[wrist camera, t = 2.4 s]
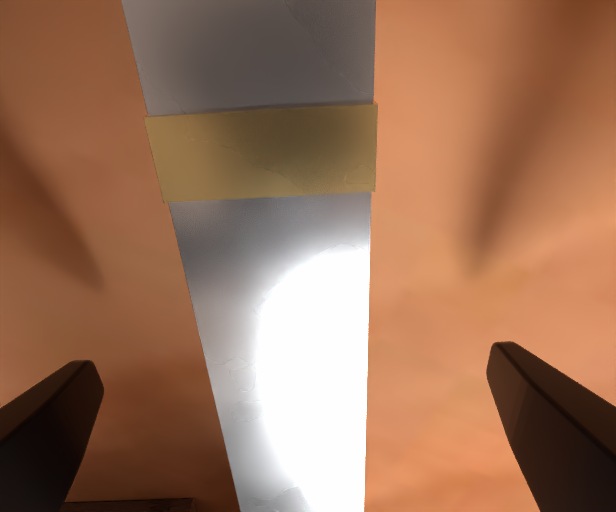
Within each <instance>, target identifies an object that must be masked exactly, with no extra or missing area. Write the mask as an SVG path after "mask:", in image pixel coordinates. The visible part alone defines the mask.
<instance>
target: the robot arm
mask: <svg viewBox="0 0 616 512" xmlns="http://www.w3.org/2000/svg"><path fill="white" fill-rule="evenodd" d="M486 374H487V380H488V383H489V386H490V389H491V392H492V395H493V398H494V401H495V404H496V406H497V409H498V412H499V415H500V418H501V421H502V424H503V427H504V430H505V433H506V436H507V438H508V441H509V444H510V446H511V449H512V451H513V453H514V456H515V458H516V460H517V462H518V464H519V466H520V469H521V471H522V473H523V475H524V477H525V479H526V482H527V484H528V486H529V488H530V490H531V492H532V494H533V497H534V499H535V501H536V503H537V505H538V507H539V510H540V512H616V407H615V406H614V405H612V404H610V403H609V402H607V401H606V400H604V399H603V398H601V397H599V396H598V395H596V394H595V393H593V392H592V391H590V390H589V389H587V388H585V387H584V386H582V385H581V384H579V383H578V382H576V381H574V380H573V379H571V378H570V377H568V376H567V375H565V374H563V373H562V372H560V371H559V370H557V369H556V368H554V367H552V366H551V365H549V364H548V363H546V362H545V361H543V360H541V359H540V358H538V357H537V356H535V355H534V354H532V353H530V352H529V351H527V350H526V349H524V348H523V347H521V346H520V345H518V344H516V343H514V342H511V341H508V342H495V343H494V344H493V345H492V347H491V351H490V356H489V360H488V365H487V370H486ZM103 394H104V387H103V384H102V381H101V379H100V376H99V374H98V371H97V369H96V366H95V364H94V363H93V362H92V361H91V360H75V361H71V362H70V363H68V364H66V365H65V366H63V367H62V368H60V369H59V370H57V371H56V372H54V373H53V374H51V375H50V376H48V377H47V378H45V379H44V380H42V381H41V382H39V383H38V384H36V385H35V386H33V387H32V388H30V389H29V390H27V391H26V392H24V393H23V394H21V395H20V396H18V397H17V398H15V399H14V400H12V401H11V402H9V403H8V404H6V405H5V406H3V407H2V408H0V512H60V510H61V508H62V505H63V503H64V501H65V499H66V496H67V494H68V492H69V490H70V487H71V485H72V483H73V481H74V478H75V476H76V474H77V471H78V469H79V466H80V464H81V462H82V459H83V456H84V453H85V451H86V447H87V444H88V441H89V438H90V435H91V432H92V429H93V426H94V423H95V420H96V417H97V414H98V411H99V408H100V405H101V401H102V398H103Z"/></svg>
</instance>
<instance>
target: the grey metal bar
mask: <svg viewBox="0 0 616 512" xmlns="http://www.w3.org/2000/svg"><path fill="white" fill-rule="evenodd" d="M121 2H122V6H123V10H124V14H125V19H126V23H127V27H128V32H129V36H130V40H131V44H132V49H133V53H134V57H135V62H136V66H137V70H138V74H139V79H140V83H141V87H142V91H143V96H144V100H145V104H146V109H147V113H148V115H147V116H145V117H143V118H144V122H145V127H146V131H147V135H148V139H149V143H150V147H151V152H152V156H153V160H154V164H155V168H156V172H157V177H158V181H159V185H160V189H161V193H162V197H163V202H164V203H167V202H168V203H169V207H170V211H171V216H172V220H173V224H174V228H175V233H176V237H177V241H178V246H179V250H180V254H181V258H182V263H183V267H184V271H185V275H186V280H187V284H188V288H189V293H190V297H191V301H192V305H193V310H194V314H195V318H196V323H197V327H198V331H199V335H200V340H201V344H202V348H203V352H204V357H205V361H206V365H207V370H208V374H209V378H210V382H211V387H212V391H213V395H214V400H215V404H216V408H217V412H218V417H219V421H220V425H221V430H222V434H223V438H224V442H225V447H226V451H227V455H228V459H229V464H230V468H231V472H232V477H233V481H234V485H235V489H236V494H237V498H238V502H239V507H240V511H241V512H364V473H365V431H366V389H367V347H368V306H369V264H370V222H371V192H375V181H376V146H377V112H378V104H377V103H376V102H375V101H374V100H373V96H374V54H375V12H376V0H121Z"/></svg>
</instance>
